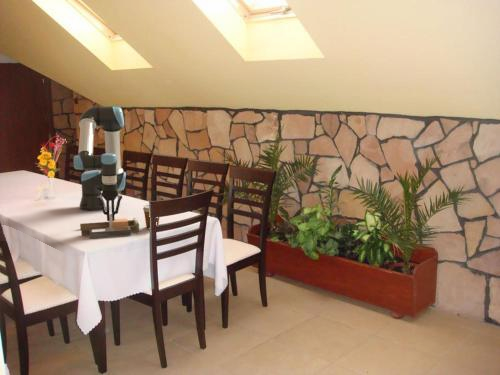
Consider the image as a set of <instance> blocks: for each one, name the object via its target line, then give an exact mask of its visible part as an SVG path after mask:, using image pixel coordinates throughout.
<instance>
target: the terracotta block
mask: <svg viewBox="0 0 500 375" xmlns="http://www.w3.org/2000/svg"><path fill="white" fill-rule="evenodd" d="M128 220H129V219H128V218H115V220H114V221H112V223H113V228H114V230H125V229H127V226H128Z"/></svg>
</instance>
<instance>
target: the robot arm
mask: <svg viewBox="0 0 500 375" xmlns="http://www.w3.org/2000/svg"><path fill="white" fill-rule="evenodd" d="M124 120H125V119H124V113H123V109H122V108H121V107H119V106H92V107H89V108H88V109H86V110H85V111H84V112H83V113H81V116H80V118H79V120H78V126H79V128H80V130H79V142H78V154H77V155H74V156H73V168H74V169H75V170H79V171H80V170H82V171H83V170H84V172H83V173H81V177H80V178H81V179H80V182H81V199H80V203H79V209H80V210H83V211H99V210H101V211H102V213H103V215H106V222H109V227H110V228H112V227H113V223H112V221H114V220H115V219H116V218H115V215H117V214H119V209H120V204H121V201H122V199H123V195H121V194H119V191H124V189H125V187H126V177H127V176H126V175H127V172H126V171H124V169H123V167H122V166H121V164H122V163H121V140H120V135H121V134H120V132H121V131H122V130H123V127H125V121H124ZM97 127H98V128H100V127H101V131H102V132H104V144H105V146H104V147H105V153H102V154H100V155H99V154H98V155H96V154H95V155H94V143H95V142H94V140H95V129H96V128H97ZM85 170H86V171H85ZM116 199H117V201H116V206H115V200H116ZM110 201H111V202H110ZM105 202H106V203H105ZM110 205H111V214H110ZM105 208H106V209H105Z"/></svg>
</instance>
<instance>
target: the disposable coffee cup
mask: <svg viewBox="0 0 500 375" xmlns="http://www.w3.org/2000/svg"><path fill="white" fill-rule="evenodd" d="M149 205H150V204H145V205H144V206H143V208H142V210H143V213H144V220H145V226H146V229H148V230H150V229H149V228H150V217H149ZM156 222H157V225H158V226H159V223H160V216H159V217H158V218H156Z"/></svg>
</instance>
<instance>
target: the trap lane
mask: <svg viewBox="0 0 500 375" xmlns="http://www.w3.org/2000/svg"><path fill="white" fill-rule="evenodd" d="M127 220H128V226H127V229H125V230H114V228H113V227H109V221H102V222H101V221H99V222H97V221H96V222H87V223H79V224H80V226H79V227H80V233H81V237H86V236H88V237H89V239H100V238H101V239H102V238H114V237H125V236H132V233H137V232H140V224H139V221H138V219H137V218H136V217H133V218H132V219H127ZM95 229H105V230H102V231H101V230H100V231H93V230H95Z"/></svg>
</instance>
